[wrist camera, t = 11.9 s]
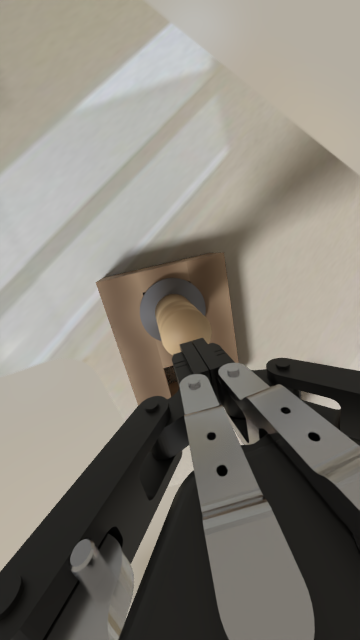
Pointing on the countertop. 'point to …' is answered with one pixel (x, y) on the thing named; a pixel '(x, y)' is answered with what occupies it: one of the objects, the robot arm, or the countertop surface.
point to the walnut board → (137, 344)
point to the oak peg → (174, 313)
